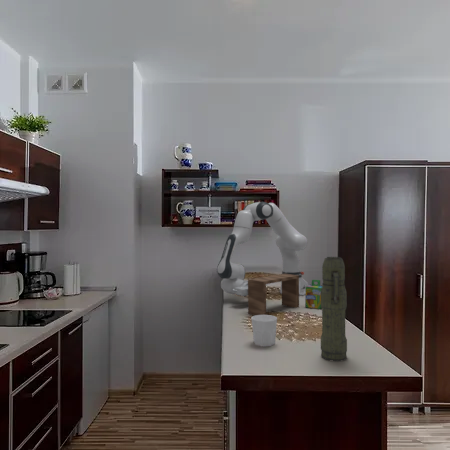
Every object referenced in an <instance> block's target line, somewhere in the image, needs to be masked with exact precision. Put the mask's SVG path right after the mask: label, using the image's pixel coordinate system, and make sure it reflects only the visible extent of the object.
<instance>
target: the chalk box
mask: <svg viewBox="0 0 450 450" xmlns="http://www.w3.org/2000/svg"><path fill="white" fill-rule="evenodd" d="M316 283H317V284H316ZM321 290H322V285H321V280H320V279H311V284H308V286H306V294H305V297H304V298H305V304H304V306H305V308H307V309H315V310H322V308H321Z"/></svg>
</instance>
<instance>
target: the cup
mask: <svg viewBox="0 0 450 450" xmlns="http://www.w3.org/2000/svg"><path fill="white" fill-rule="evenodd" d="M250 318H251V319H250V320H251V328H252V335H253V338H252V339H253V343H254V345H255V346H260V347H262V346H263V347H271V346H273V345H276V338H277V337H276V335H277V323H278V322H277V321H278V317H277V316H274V315H270V314H266V315H253V316H251V317H250Z"/></svg>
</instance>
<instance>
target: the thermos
mask: <svg viewBox="0 0 450 450" xmlns="http://www.w3.org/2000/svg"><path fill="white" fill-rule="evenodd" d="M321 270H322V271H321V272H322V290H321V308H322V309H321V329H322V330H321V336H320V351H321V352H320V353H321V354H320V356H322V357H321V358H322V359H324V360H326V359H327V361H330V360H333V361H332V362H342V361H341V360H343V361H346V360H347V352H348V339H347V337H346V310H347V307H348V303H347V300H348V299H347V294H348V292H347V289H346V284H345V281H346V277H345V276H346V273H345V272H346V267H345V261H344V260H343V258H342V257H340V256H326V257H325V258H324V260H323V263H322V269H321Z"/></svg>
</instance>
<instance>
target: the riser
mask: <svg viewBox="0 0 450 450" xmlns="http://www.w3.org/2000/svg"><path fill="white" fill-rule="evenodd" d="M247 281H248V295H247V313H248V315H253V316H256V315H267V285H270V284H274V283H275V284H276V283H279V282H280V283H281V281H282V294H281V306H284V307H290V308H295V309H298V308H300V295H299V275H292V274H282V273H281V274H274V275H268V276H263V277H262V276H261V277H256V278H255V277H254V278H250V279H247Z"/></svg>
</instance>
